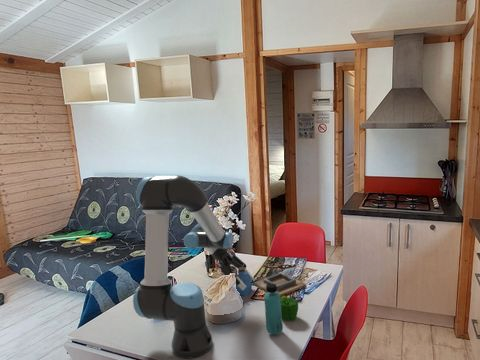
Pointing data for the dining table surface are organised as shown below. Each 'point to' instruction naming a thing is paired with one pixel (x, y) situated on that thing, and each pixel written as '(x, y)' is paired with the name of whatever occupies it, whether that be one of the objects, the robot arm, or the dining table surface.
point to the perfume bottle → (244, 281)
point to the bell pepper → (289, 308)
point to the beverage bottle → (273, 310)
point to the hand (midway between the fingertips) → (248, 284)
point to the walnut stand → (281, 283)
